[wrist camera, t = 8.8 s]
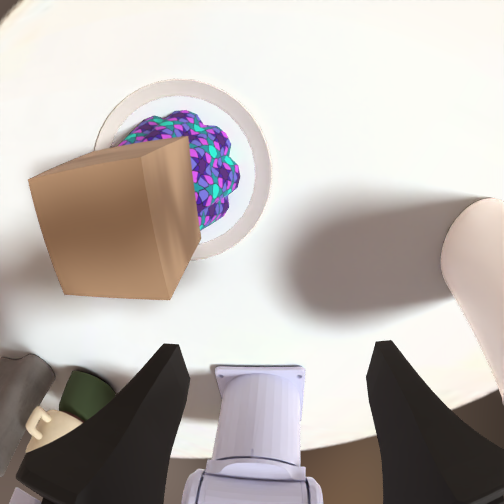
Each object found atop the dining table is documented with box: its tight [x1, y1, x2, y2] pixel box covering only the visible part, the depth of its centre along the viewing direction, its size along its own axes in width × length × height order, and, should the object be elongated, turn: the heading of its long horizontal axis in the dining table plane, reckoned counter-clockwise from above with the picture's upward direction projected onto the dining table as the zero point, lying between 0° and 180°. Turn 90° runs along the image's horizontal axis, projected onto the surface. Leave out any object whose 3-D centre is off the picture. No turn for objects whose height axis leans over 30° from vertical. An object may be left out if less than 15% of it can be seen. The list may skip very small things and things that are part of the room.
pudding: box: [95, 79, 272, 260], centre depth 16 cm, size 12×12×5 cm
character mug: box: [26, 371, 116, 453], centre depth 25 cm, size 11×7×13 cm, turn 15°
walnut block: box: [28, 136, 201, 300], centre depth 12 cm, size 5×5×5 cm
